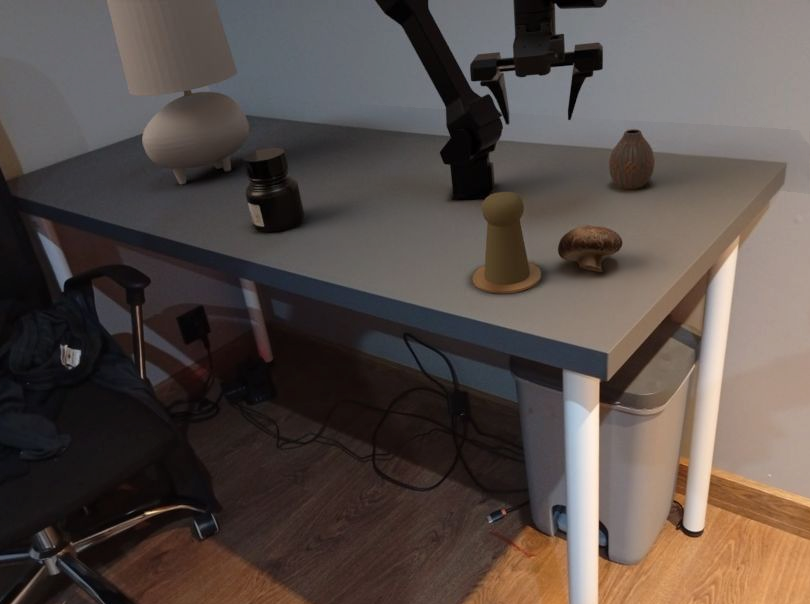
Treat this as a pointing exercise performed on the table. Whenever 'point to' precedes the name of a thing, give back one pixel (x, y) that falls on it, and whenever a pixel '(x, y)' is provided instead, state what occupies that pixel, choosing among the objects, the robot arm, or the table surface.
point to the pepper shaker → (504, 239)
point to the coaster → (511, 288)
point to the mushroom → (589, 246)
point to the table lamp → (181, 80)
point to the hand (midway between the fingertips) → (538, 121)
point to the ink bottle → (272, 191)
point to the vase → (631, 161)
